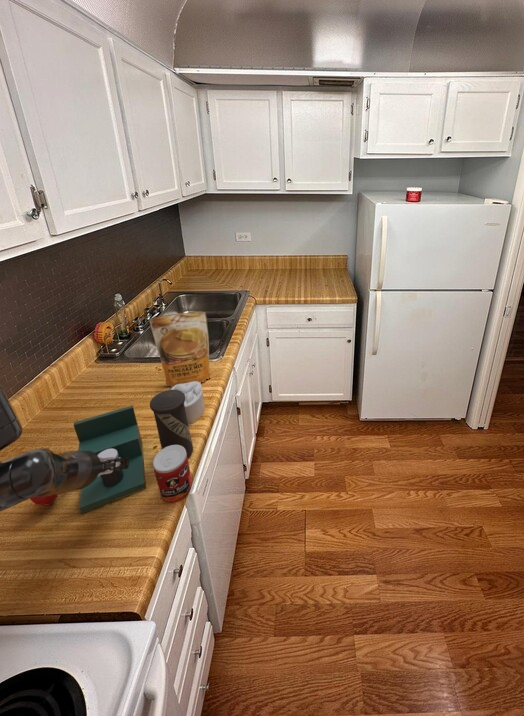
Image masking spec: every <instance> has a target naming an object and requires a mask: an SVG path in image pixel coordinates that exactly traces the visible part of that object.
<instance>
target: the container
mask: <svg viewBox="0 0 524 716" xmlns="http://www.w3.org/2000/svg"><path fill="white" fill-rule="evenodd" d="M184 402H185V394H184V393H183V392H182V391H180V390H171V389H166V390H163V391H160V392H158V393H156V394H155V395H154V396H153V397H151V399H150V402H149V409H150V410H151V411H152V412H153V416H154V420H155V425H156V429H157V434H158V438H159V443H160V444H159V445H160V448H161V450H162V449H164V448H165V447H168V446H171V445H180V446H183V447H184V448H185V450H186V453H187V458H188V459H189V458H190V457H191V456H192V454H193V452H194V446H193V445H194V444H193V440H192V436H191V435H192V434H191V431H190V424H189V425H188V420H187V416H186V411H185V406H184Z"/></svg>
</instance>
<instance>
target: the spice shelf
mask: <svg viewBox="0 0 524 716" xmlns="http://www.w3.org/2000/svg"><path fill="white" fill-rule="evenodd" d="M73 428H74V431H75V434H76V437H77V440H78V442H79V443H78V448H77V449H78V450H77V451H92V452H94V453H95V454H96V455H98V454H99V453H101V452H102V451H104V450H107V449H116V450H117V452H118V458H125V457H127V456H128V457H130V458H129V468H127V469H122V471H123V479H122V480H121V481H120V482H119V483H118V484H117V485H115V486H112V487H105V486H104V485H103V482H102V479H101V476H99V477H96V479H95V480H94V481H93V482H92V483H91V484H90V485H88V486H87V487H85V488H82V489H80V497H79V505H78V509H79V512H80V514H85V513H87V512H89V511H92V510H95V509H97V508H99V507H102V506H105V505H107V504H109V503H112V502H114V501H117V500H119V499H122V498H125V497H128V496H130V495H133V494H136V493H137V492H141V491H142V490H145V489H146V488H147V487H146V486H147V485H146V475H145V461H144V446H143V440H142V436H141V432H140V428H139V424H138V421H137V416H136V413H135V407H134V405H133V404H132V405H129V406H125V407H121V408H118V409H115V410H111V411H107V412H105V413H101V414H97V415H94V416H91V417H88V418H84V419H81V420H80V419H79V420H77V421H73Z"/></svg>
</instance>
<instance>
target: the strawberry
mask: <svg viewBox="0 0 524 716" xmlns="http://www.w3.org/2000/svg"><path fill="white" fill-rule="evenodd" d="M58 495H59V494H54V495H51V496H46V497H32V498H30V499H29V500H30V501H31V502H32V503H34V504H35V505H37V506H48V505H49V506H50V505H52V504H53V503H54V502H55V500H56V499H57V497H58Z"/></svg>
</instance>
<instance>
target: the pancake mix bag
mask: <svg viewBox="0 0 524 716" xmlns="http://www.w3.org/2000/svg"><path fill="white" fill-rule="evenodd" d="M207 316H208V315H207V313H206V312H203V311H202V310H196V311H189V312H182V313H181V312H180V313H172V314H165V315H160V316H154V317H152V318H150V319H149V320H148V323H149V327H150V330H151V333H152V336H153V339H154V344H155V347H156V350H157V353H158V356H159V359H160V363H161V367H162V369H163V372H164V379H165V384H164V385H165V387H170V388H172V387H174V386H175V385H177V384H183V383H189V382H193V381H197V382H204V381H206V382H207V380H206V379H208V380H210V379H212V377H211V374H210V342H209V341H210V337H209V336H210V335H209V327H208V317H207ZM209 378H210V379H209ZM204 383H205V382H204Z"/></svg>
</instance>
